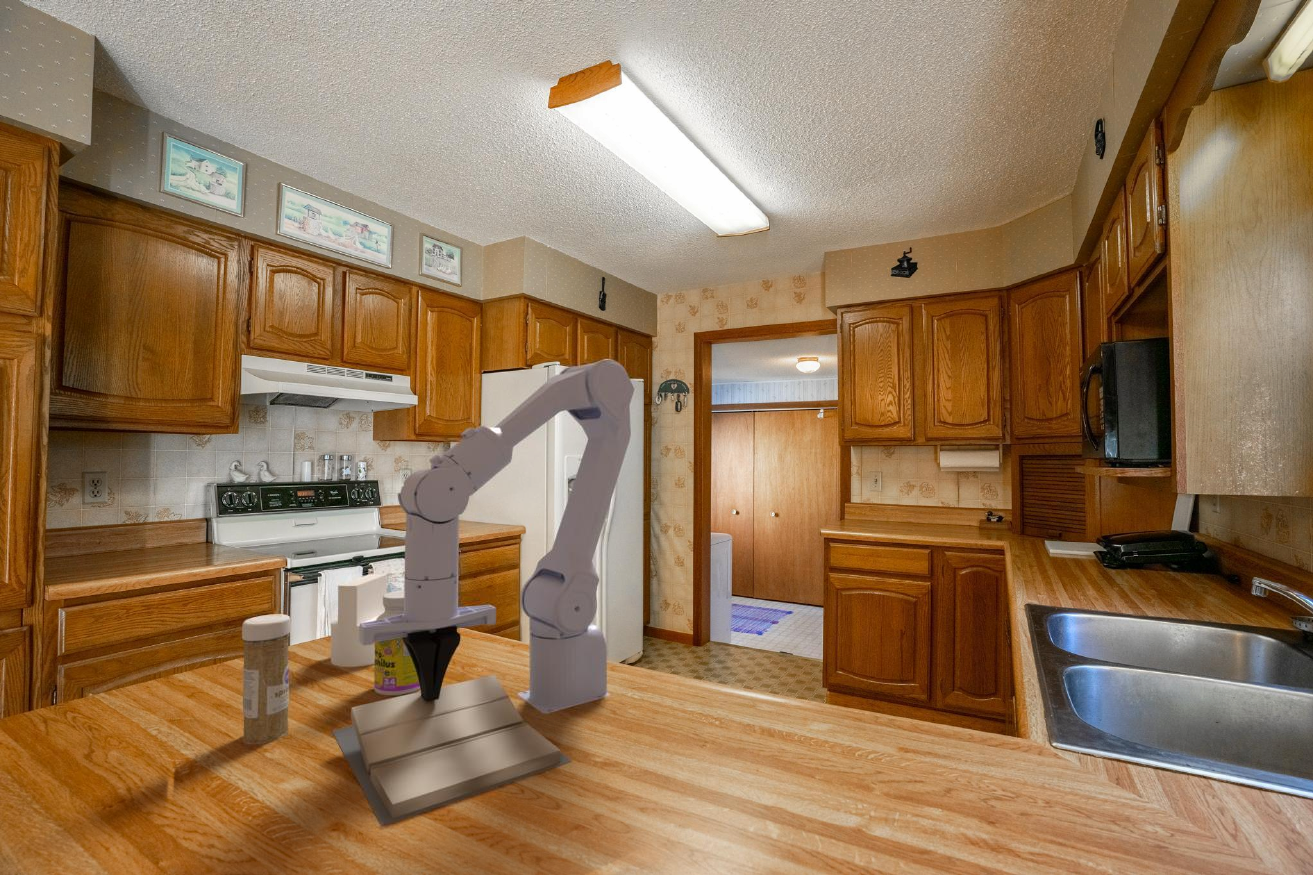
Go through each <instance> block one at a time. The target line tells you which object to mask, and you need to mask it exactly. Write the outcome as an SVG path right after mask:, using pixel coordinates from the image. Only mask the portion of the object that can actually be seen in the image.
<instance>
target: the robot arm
mask: <svg viewBox="0 0 1313 875" xmlns="http://www.w3.org/2000/svg"><path fill="white" fill-rule="evenodd" d="M634 393H635V386H634V385H633V382H632V381H631V379H630V377H629V374H628V372H627V371H626V369H625V367H624V366H623V365H622V364H621V363H619V362H618V361H616V360H614V359H609V358H607V359H605V358H604V359H602V360H599V361H597V362H593V363H588V364H583V365H582V364H581V365H578V366H577V365H576V366H573V365H572V366H569V367H566V368H564V369H563V370H561V371H560V372H559V373H558V374H556V375H554V376H552V377H550V378H548V379H547V380H546V382H545V383H543V384H542V385H541V386H540V387H538V389H537V390H535V391H534V392H533V393H532V394H531V395H530V396H528V397H527V398H526V399H525V400H524V401H523V402H522V403H520V404H519V405H518V406H517V407H516V408H515V409H514V410H512V411H511V412H510V413H509V414H508V415H507V416H506V417H505V418H503V419H502V420H501V421H500V422H498V424H496V425H495V426H494V427H493V426H487V425H479V426H477V427H476V428H474V427H468V428H467V429H465V430H464V431H463V432H461V434H460V435H461V437H462V439H461V440H460V441H458V442H457V443H456V444H454V445H453V446H452V447H450V448H449V449H448V450H446V451H445V452H444V453H443V454H442V455H438V454H435V455H434V456H432V457H431V458H430V459H429V463H430V468H424V469H418V470H416V471H414V472H412V473H410V475H408V476H407V478H406V479H405V480H404V482H403V486H402V487H401V490H400V492H399V493H397V500H398V503H399V506H400V508H401V509H402V510H403V512H404V513H405V514H406V515H405V516H406V517H405V536H404V583H403V584H404V587H403V590H404V614H401V615H397V616H393V617H389V618H384V619H380V620H376V621H371V622H365V623H360V627H359V641H360V643H361V644H362V645H363V646H365V645H371V644H374V642H378V641H384V640H390V639H396V638H402V640H403V642H404V644H405V646H406V648H407V650H408V652H409V654H410V656H411V659H412V661H413V664H414V666H415V669H416V672H417V676H418V680H419V684H420V692H421V697H422V698H423V699H424V700H425V701H426V702H429V701H433V700H437V699H439V696H440V691H441V687H443V682H444V679H445V675H446V673H447V670H448V667H449V665H450V663H451V661H452V658H453V656H454V654H455V653H456V650H457V648H458V647H459V646H460V643H461V638H462V637H461V633H459V632H458V629H463V628H469V627H474V626H475V627H476V626H480V625H481V626H482V625H486V626H491V625H496V623H497V607H495V606H493V605H491V604H484V605H483V604H482V605H473V606H471V605H470V606H459V550H460V549H459V544H460V543H459V542H460V540H459V539H460V534H459V527H460V526H459V521H460V520H459V518H460V515H462V514H464V513H465V511H466V509H467V506H468V504H469V501H470V500H469V499H470V497H471V496H473V495H474V494H475V493H477V491H478V490H480V489H481V488H482V487H483V486H484V485H486V484H487V483H488V482H489V481H490V480H492V479H493V478H494V477H495V476H496V475H497V474H498V473H500V472H501V471H502V470H503V469H505V467H507V466H508V465H509V464H510V463H511V462H512V460H513V459H512V458H513V450H514V447H515V446H516V445H518V444H519V443H521V442H522V441H524V440H525V439H526V438H527V437H528V436H529V437H530V435H531V434H533V433H534V432H536V430H538V429H539V428H540V427H542V426H543V425H545V424H546V423H548V421H550V420H551V419H553V418H554V417H555V416H556V415H558V414H559V413H561V412H563V411H566V412H567V413H568V414H569V415H570V416H571V417H572V418H573V419H574V420H575V421H576V422H577V423H578V424H579V425H580V426H581V427H582V430H583V431H584V434H585V435H586V437H587V442H586V444H585V448H584V452H583V454H582V458H581V460H580V462H579V463H580V464H579V466H578V469H577V472H576V475H575V479H574V481H573V484H572V488H571V490H570V494H569V497H568V500H567V503H566V505H565V509H564V512H563V515H562V518H561V521H560V522H559V523H560V524H559V527H558V530H557V533H556V537H555V539H554V542H553V545H552V548H551V549H550V550H549V551H548V552H547V553H546V554H545V555H544V556H542V558H540V559H539V561H538V562H537V565H536V567H535V570H534V572H533V574H532V575H531V576H530V578H528V579H527V581H525V582H524V584H523V587H522V589H521V591H520V598H519V599H520V606H521V609H522V611H523V613H524V614H525V615H526V616H527V617H528V618H529V620H528V621H529V623H528V624H529V630H528V631H529V689H528V690H524V691H521V692H518V693H517V696H519V698H521V699H523V700H524V701H525V702H527V703H528V704H529V705H530V706H532V707H533V708H535V709H536V710H537V711H539V712H541V713H542V714H550V713H554V712H557V711H561V710H564V709H568V708H571V707H572V708H573V707H575V706H577V705H578V706H579V705H582V704H587V703H589V702H593V701H597V700H600V699H604V698H606V697H610V696H611V694H610V693H609V692H608V688H607V687H608V686H607V685H608V675H607V674H608V671H607V670H608V666H607V664H608V662H607V660H608V658H607V657H608V656H607V655H608V653H607V652H608V650H607V643H606V638H605V635H604V632H603V631H602V629H601V628H600V627H599V626H598V625H596V624H595V623H593V621H594V619H595V617H596V614H597V609H598V601H597V590H598V586H599V582H600V578H599V573H598V572H597V570H596V568H595V565H594V562H593V559H594V555H595V553H596V550H597V546H598V543H599V541H600V540H599V539H600V537H601V533H602V529H603V527H604V524H605V521H606V518H607V514H608V511H609V507H610V504H611V501H612V497H613V494H614V491H615V488H616V485H617V482H618V478H619V475H620V474H621V473H620V472H621V468H622V465H623V462H624V460H625V456H626V453H627V449H628V446H629V444H630V441H631V440H630V439H631V435H632V434H631V433H632V432H631V410H630V409H631V408H630V405H631V403H632V398H633V395H634Z"/></svg>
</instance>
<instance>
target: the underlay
mask: <svg viewBox="0 0 1313 875" xmlns="http://www.w3.org/2000/svg"><path fill="white" fill-rule="evenodd" d="M331 733H332V734H333V736H334V738H335V741H336V742H337V744H338V746H339V748H340V749H341V751H342V753H343V755H344V757H345V760H346V761H347V763H348V765H349V767H350V769H351V771H352V773H353V775H354V776H355V778H356V780H357V782H358V784H359V786H360V787H361V790H362V791H363V793H364V795H365V797H366V799H367V801H368V803H369V805H370V806H371V809H372V810H373V813H374V814H375V816H376V819H377V820H378V823H379V824H380V826H381V827H384V826H387V825H390V824H393V823H396V822H398V821H401V820H405V819H408V818H410V817H413V816H416V815H419V814H422V813H424V812H428V811H431V810H434V809H437V808H439V807H442V806H445V805H449V804H451V803H454V802H457V801H460V800H462V799H463V800H464V799H466V798H469V797H472V796H474V795H478V794H480V793H483V792H486V791H489V790H492V789H495V788H497V787H500V786H503V785H507V784H510V783H512V782H513V783H514V782H515V781H518V780H519V781H520V780H521V779H525V778H527V777H530V776H533V775H535V774H536V775H537V774H539V773H542V772H545V771H548V770H550V769H553V768H556V767H559V766H563V765H565V764H569V763H571V762H572V760H571V759H570V758H569V757H567V756H566V755H565V754H563V753H562V752H561V751H560V762H559V763H556V764H553V765H550V766H547V767H544V768H541V769H538V770H535V771H532V772H529V773H526V774H523V775H520V776H518V777H515V778H512V779H509V780H506V781H503V782H500V783H497V784H494V785H491V786H488V787H485V788H482V789H479V790H476V791H473V792H470V793H467V794H464V795H461V796H458V797H455V798H452V799H450V800H447V801H444V802H441V803H438V804H435V805H432V806H429V807H426V808H423V809H420V810H417V811H414V812H411V813H408V814H405V815H402V816H399V817H396V818H392V817H391V815H390V813H389V811H388V810H387V808H386V806H385V804H384V802H383V801H382V799H381V797H380V795H379V794H378V792H377V790H376V788H375V787H374V785H373V783H372V781H371V773H370V774H368V772H367V769H366V766H365V762H364V759H363V756H362V752H361V749H360V746H359V743H358V739H357V736H356V733H355V729H354V726H353V725H349V726H347V727H346V726H345V727H342V728H338V729H333V730H331Z"/></svg>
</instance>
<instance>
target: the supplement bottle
mask: <svg viewBox="0 0 1313 875" xmlns="http://www.w3.org/2000/svg"><path fill="white" fill-rule="evenodd" d="M383 605H384V607H385V612H384V613H382V614H381V615H379V616H378V618H377V619H376V620H380V619H384V618H389V617H393V616H397V615H401V614H404V589H403V590H395V591H391V592H387V594H385V595H384V596H383ZM373 683H374V684H373V685H374V691H375V693H377V694H379V695H383V696H402V695H405V694H406V695H408V694H412V693H416V692H417V691H419V690H420V684H419V680H418V676H417V672H416V669H415V666H414V664H413V661H412V659H411V656H410V654H409V652H408V650H407V648H406V646H405V644H404V642H403V640H402V638H396V639H390V640H384V641H378V642H375V664H374V682H373ZM420 691H421V690H420Z"/></svg>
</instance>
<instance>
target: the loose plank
mask: <svg viewBox="0 0 1313 875" xmlns="http://www.w3.org/2000/svg"><path fill="white" fill-rule="evenodd" d="M350 719H351V722H352V726H354V729H355V733H356V736H357V739H358V743H359V746H360V749H361V752H362V756H363V759H364V762H365V766H366V769H367V772H368V774H370V773H371V767H372V766H376V765H379V764H383V763H386V762H390V761H393V760H397V759H400V758H404V757H407V756H411V755H414V754H418V753H421V752H425V751H428V750H432V749H435V748H439V747H442V746H446V745H449V744H453V743H456V742H460V741H463V740H467V739H470V738H474V737H477V736H481V735H484V734H488V733H491V732H495V731H498V730H502V729H505V728H509V727H512V726H516V725H519V724H523V723H524V719H523V717H522V716H521V714H520V713H519V711H518V710H517V708H516V707H515V704H514V703H513V702H512V700H511V698H510V697H509V695H508V694H507V692H506V690H505V689H504V687H503V686H502V684H501V682H500V680H499V679H498V677H497V676H496V674H491V675H487V676H484V677H479V678H474V679H469V680H466V681H462V682H458V683H452V684H449V685H444V686H443V685H442V687H441V691H440V696H439V699H437V700H433V701H429V702H426V701H425V700H424V699H423V698H422V697H421V691H418V692H417V691H416V692H411V693H407V694H406V695H405V694H403V695H398V696H396V697H390V698H386V699H382V700H377V701H374V702H373V701H372V702H369V703H365V704H360V705H356V706H353V707H352V706H351V710H350Z"/></svg>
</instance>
